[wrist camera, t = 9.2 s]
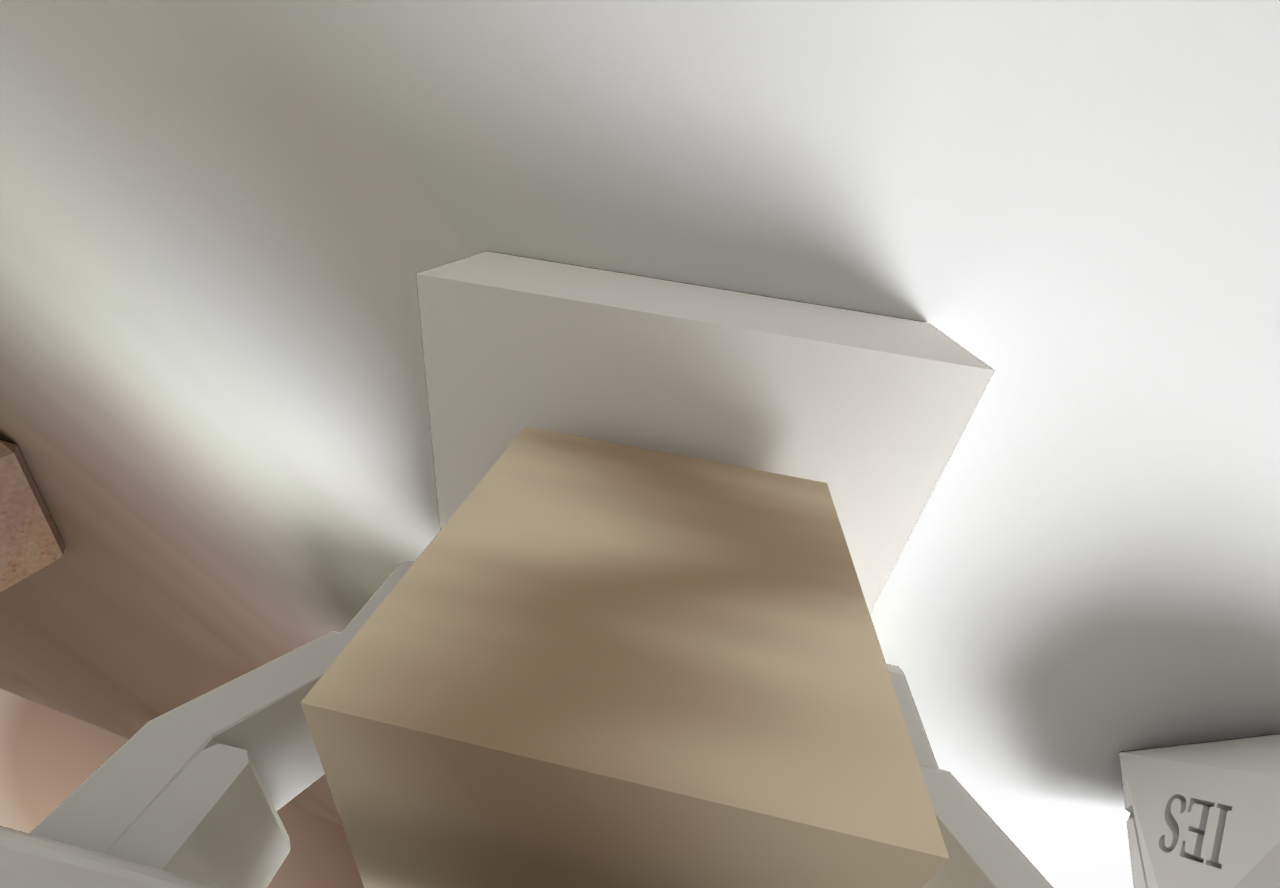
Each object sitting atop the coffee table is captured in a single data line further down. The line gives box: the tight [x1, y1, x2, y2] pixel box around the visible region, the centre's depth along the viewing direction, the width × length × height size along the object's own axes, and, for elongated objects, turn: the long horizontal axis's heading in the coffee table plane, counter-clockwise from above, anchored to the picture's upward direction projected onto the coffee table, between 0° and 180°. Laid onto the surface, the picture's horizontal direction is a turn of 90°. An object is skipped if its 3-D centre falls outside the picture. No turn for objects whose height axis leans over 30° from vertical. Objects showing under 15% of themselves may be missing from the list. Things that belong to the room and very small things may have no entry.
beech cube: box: [300, 426, 950, 888], centre depth 8 cm, size 6×6×6 cm
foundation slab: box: [416, 252, 995, 614], centre depth 12 cm, size 10×10×3 cm
